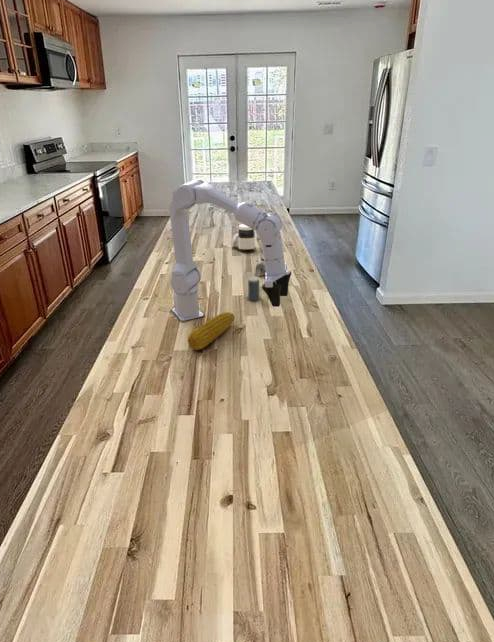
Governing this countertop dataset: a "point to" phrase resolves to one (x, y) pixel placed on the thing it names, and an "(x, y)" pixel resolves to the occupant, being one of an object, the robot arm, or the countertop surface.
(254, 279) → the shaker
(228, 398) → the countertop surface
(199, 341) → the food
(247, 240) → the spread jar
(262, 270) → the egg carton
